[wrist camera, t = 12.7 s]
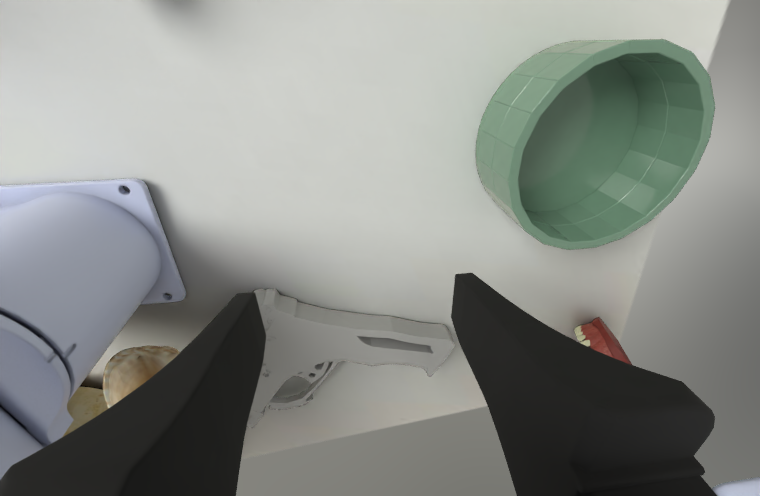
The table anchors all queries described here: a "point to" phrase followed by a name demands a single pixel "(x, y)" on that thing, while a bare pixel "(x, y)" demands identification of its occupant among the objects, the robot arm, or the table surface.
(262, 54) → the table surface
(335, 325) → the toy gun
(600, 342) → the dentures model
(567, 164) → the bowl
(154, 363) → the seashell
